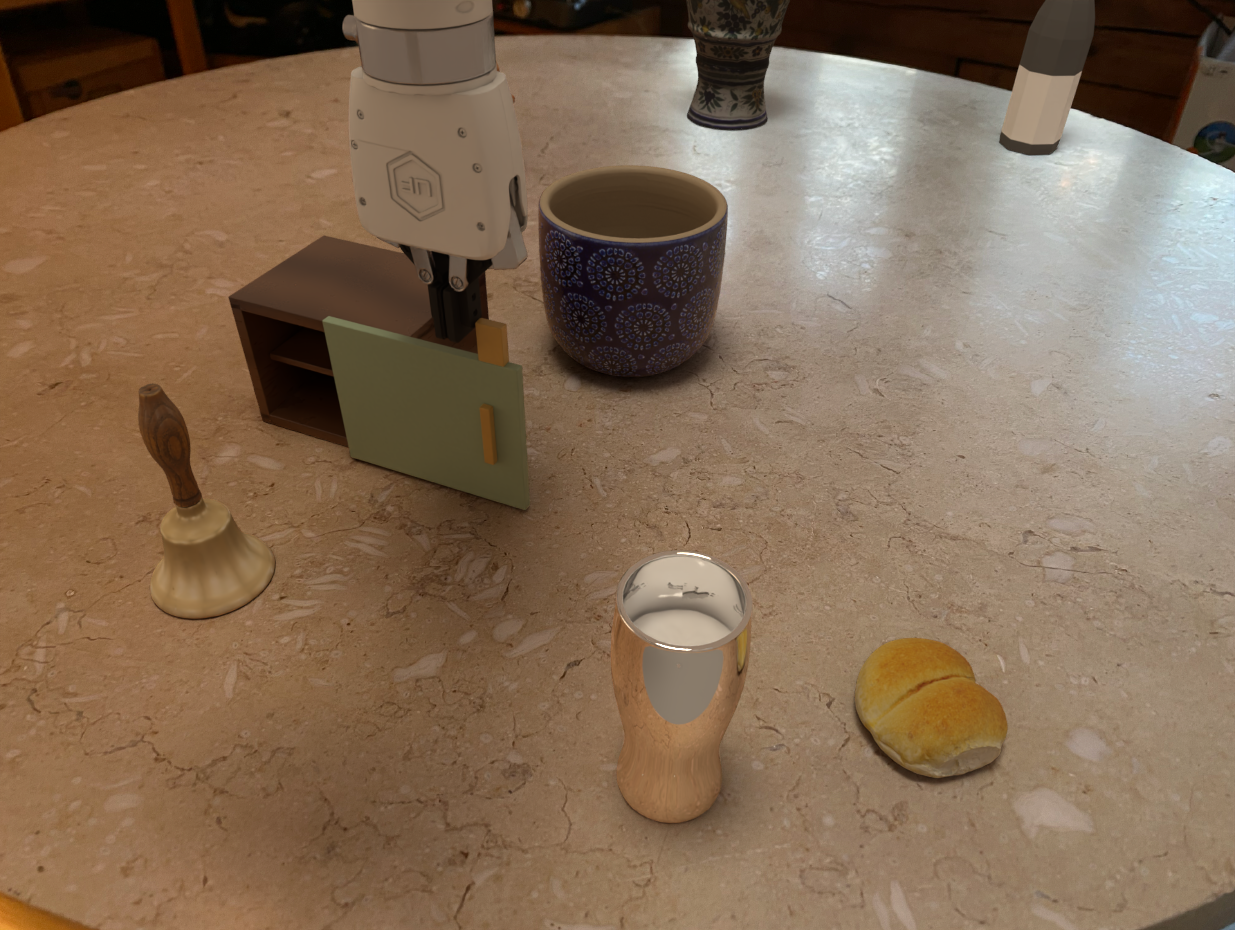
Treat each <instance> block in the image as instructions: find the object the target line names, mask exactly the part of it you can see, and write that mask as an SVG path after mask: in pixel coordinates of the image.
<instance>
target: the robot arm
mask: <svg viewBox="0 0 1235 930" xmlns="http://www.w3.org/2000/svg"><path fill="white" fill-rule="evenodd" d="M351 2H352V9H353V14H347V15H345V17H344V18H343V20H342V33H343V36H344V38H345V39H347V41H348V40H349V41H355V42H356V44H357V46H358V51H359V58H360V66H357V67H355V68H354V69H352V70H351V72H350V80H349V93H348V143H349V144H348V145H349V146H348V147H349V158H350V168H351V178H352V179H351V180H352V186H353V194H354V200H355V208H356V213H357V217H358V220H359V223H360V225H361V227H362V229H364V231H366V232H367V233H368V234H370V235H372V236H373V237H376V239H378V240H379V241H382V242H384V243H386V244H387V245H389V246H390V245H391V246H392V247H395V248H397V249H400V250H401V252H402V253H404V254H405V255H406V256H407V257H408V258H409V259H410V260H411V262H412V263H413V264H414V265H415V268H416V272H417V275H418V278H419V279H420V281H422V282H423V283H425V284H427V285H428V293H429V301H430V308H431V315H432V318H433V319H434V327H435V335H436V338H439V339H443V340H445V339H446V338H448V339H449V340H450V341H451V342H455V343H459V342H460V341H461V340H462V339H463V338H465V337H466V336H467V335H468V334H469V333H470V332H471V331H472V330H473V329H474V328H475V327H476V326H475V323H476V322H477V321H478V320H479V319H480V318H481V316H482V311H481V300H480V288H479V276H481V275H482V274H483V273H484V272H485V273H486V271H488V270H493V271H502V270H503V271H504V270H507V271H508V270H516V269H518V268H519V267H520V266H521V265H522V264H523V263H525V261H526V260H527V259H528V257H529V256H528V251H527V247H526V244H525V240H524V236H523V232H524V231H526V229H527V227H528V219H529V204H528V202H529V201H528V187H527V185H528V184H527V175H526V167H525V158H524V151H523V146H522V139H521V132H520V127H519V122H518V117H517V112H516V108H515V102H514V103H513V99H512V95H513V94H512V92H511V91H512V90H511V89H510V84H509V82H508V78H507V75H506V73H505V72H502V71H500V72H499V71H497V65H496V61H497V54H496V53H497V52H496V40H495V39H496V38H495V37H496V35H495V23H494V11H493V10H494V9H493V0H351ZM511 94H512V95H511Z"/></svg>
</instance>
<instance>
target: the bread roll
mask: <svg viewBox="0 0 1235 930" xmlns="http://www.w3.org/2000/svg"><path fill="white" fill-rule="evenodd" d="M854 702H855V703H854V704H855V710H856V712H857V715H858V718H859V720H860V721H861V723H862V725H863V726H864V727H865V728H866V730H868V731H869V732H870V734H871V736H872V738H873V740H874V742H875V743H876V744H877V746H878V747H879V749H881V751H882V752H883V753H884V754H885V755H886V756H888V757H889V758H890V759H891V760H893V762H895V763H896V764H897V765H899V766H901V767H903V768H904V769H906V770H908V771H910V772H912V773H914V774H917V775H921V776H925V777H929V778H933V779H940V778H946V777H952V776H961V775H964V774H967V773H970V772H972V771H975V770H978V769H981V768H984V767H985V766H986V765H989V764H991V763H992V762H994V761H995V760H996V759H997V758H998V757H999V756H1000V754H1001V753H1002V747H1003V744H1004V742H1005V740H1006V738H1007V733H1008V730H1009V728H1008V726H1009V725H1008V720H1007V714H1006V712H1005V710H1004V707H1003V706H1002V703H1001V702H1000V700H999V699H998V698H997V696H995V694H993V693H991V692H990V691H989V690H987V689H986V688H985V687H983V686H981V685H980V684H978V683H976V677H975V672H974V670H973V667H972V665H971V664H970V662H969V661H968V660H967V658H966V657H965V656H963V655H962V653H960V652H959V651H958V650H956V649H955V648H952V646H951V645H948V644H946V643H944V642H941V641H938V640H934V639H929V638H922V637H903V638H897V639H894V640H890V641H888V642H885V643H884V644H881V645H879V646H878V647H877V648H876V649H875V650H873V652H872V653H871V654H870V655H868V657H867V658H866V660H865V661H864V663H863V664H862V666H861V668H860V670H859V672H858V674H857V678H856V682H855V689H854Z"/></svg>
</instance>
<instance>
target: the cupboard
mask: <svg viewBox="0 0 1235 930" xmlns="http://www.w3.org/2000/svg"><path fill="white" fill-rule="evenodd" d="M479 288H480V300H481V311H482V316H481V318H484V319H488V320H490V315H489V303H488V301H489V300H488V290H487V277H486V271H485V272H484V273H483V274H482V275H481V276H479ZM227 297H228V300H229V305H230V308H231V312H232V316H233V319H234V322H235V326H236V329H237V334H238V337H239V341H240V345H241V348H242V351H243V355H244V358H245V362H246V366H247V369H248V373H249V377H250V380H251V383H252V387H253V392H254V395H255V398H256V402H257V405H258V409H259V412H260V416H261V419H262V422H264V423H268V424H270V425H274V426H278V427H281V428H284V429H288V430H290V431H294V432H297V433H301V434H304V435H308V436H310V437H314V438H317V439H320V440H324V441H327V442H331V443H334V444H337V445H340V446H344V447H346V448H349V446H348V441H347V436H346V432H345V427H344V422H343V417H342V413H341V408H340V403H339V398H338V393H337V389H336V384H335V379H334V374H333V370H332V365H331V360H330V355H329V350H328V346H327V341H326V336H325V331H324V327H323V322H322V321H323V320H324V319H325V318H327V317H328V316H331V317H334V318H338V319H342V320H346V321H350V322H354V323H358V324H362V325H366V326H370V327H374V328H378V329H381V330H385V331H389V332H393V333H397V334H401V335H405V336H409V337H413V338H417V339H421V340H425V341H428V342H432V343H436V344H440V345H444V346H448V347H452V348H456V349H460V350H464V351H468V352H472V353H476V354H478V348H477V337H476V327H475V328H474V329H473V330H472V331H471V332H470V333H469V334H468V335H467V336H466V337H465V338H463V339H462V340H461V341H460V342H459V343H455V342H451V341H450V340H449V339H448V338H446V339H445V340H443V339H439V338H436V335H435V327H434V319H433V318H432V315H431V308H430V301H429V293H428V285H427V284H425V283H423V282H422V281H420V279H419V278H418V275H417V272H416V268H415V265H414V264H413V263H412V262H411V260H410V259H409V258H408V257H407V256H406V255H405V254H404V253H403V252H400V251H395V250H390V249H386V248H382V247H377V246H373V245H368V244H364V243H359V242H355V241H351V240H348V239H347V240H346V239H342V238H337V237H333V236H329V235H322V236H320V237H319V238H317V239H316V240H314V241H313V242H310V243H309V244H308V245H307V246H305V247H304V248H302V249H300V250H299V251H297V252H296V253H294V254H292V255H291V256H289V257H288V258H286V259H284V260H283V261H281V262H279V263H278V264H277V265H275V266H274V267H272V268H271V269H269V270H268V271H266V272H264V273H263V274H261V275H260V276H257V278H255V279H253V280H252V281H251V282H249V283H247V284H246V285H244V286H242V287H240V289H238V290H236V291H235V292H233V293H231V294H230V295H229V296H227Z"/></svg>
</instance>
